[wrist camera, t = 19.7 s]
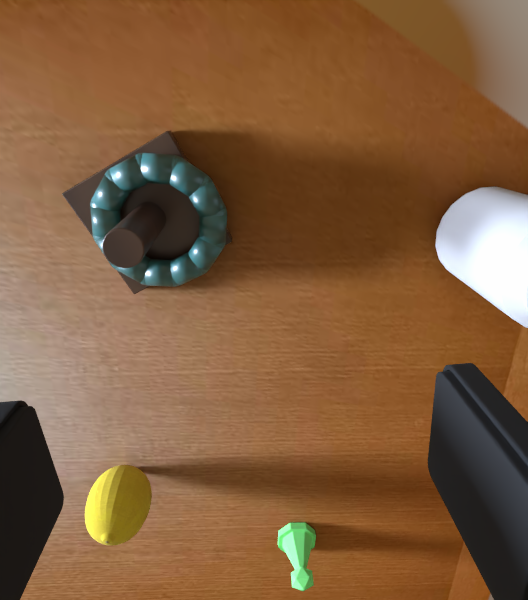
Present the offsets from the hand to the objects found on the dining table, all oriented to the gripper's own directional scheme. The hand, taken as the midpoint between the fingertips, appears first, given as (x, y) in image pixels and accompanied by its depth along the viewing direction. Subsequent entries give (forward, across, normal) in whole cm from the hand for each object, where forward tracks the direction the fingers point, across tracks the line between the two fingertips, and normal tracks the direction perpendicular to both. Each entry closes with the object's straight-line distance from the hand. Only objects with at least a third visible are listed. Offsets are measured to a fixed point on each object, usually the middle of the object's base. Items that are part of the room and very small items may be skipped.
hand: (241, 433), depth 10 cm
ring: (+23, +6, 0) cm, 24 cm away
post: (+26, +7, 0) cm, 26 cm away
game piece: (+26, -3, +36) cm, 44 cm away
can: (+26, -19, +3) cm, 32 cm away
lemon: (+26, +14, +24) cm, 38 cm away
